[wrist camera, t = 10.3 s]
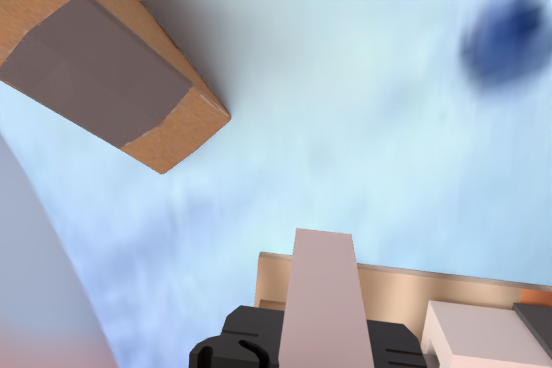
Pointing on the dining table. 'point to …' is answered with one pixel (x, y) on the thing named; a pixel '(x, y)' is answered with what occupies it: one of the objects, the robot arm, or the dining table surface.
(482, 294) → the rail
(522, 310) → the ring
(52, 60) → the sandwich container
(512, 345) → the sleeve
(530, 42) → the dining table surface
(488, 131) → the dining table surface
